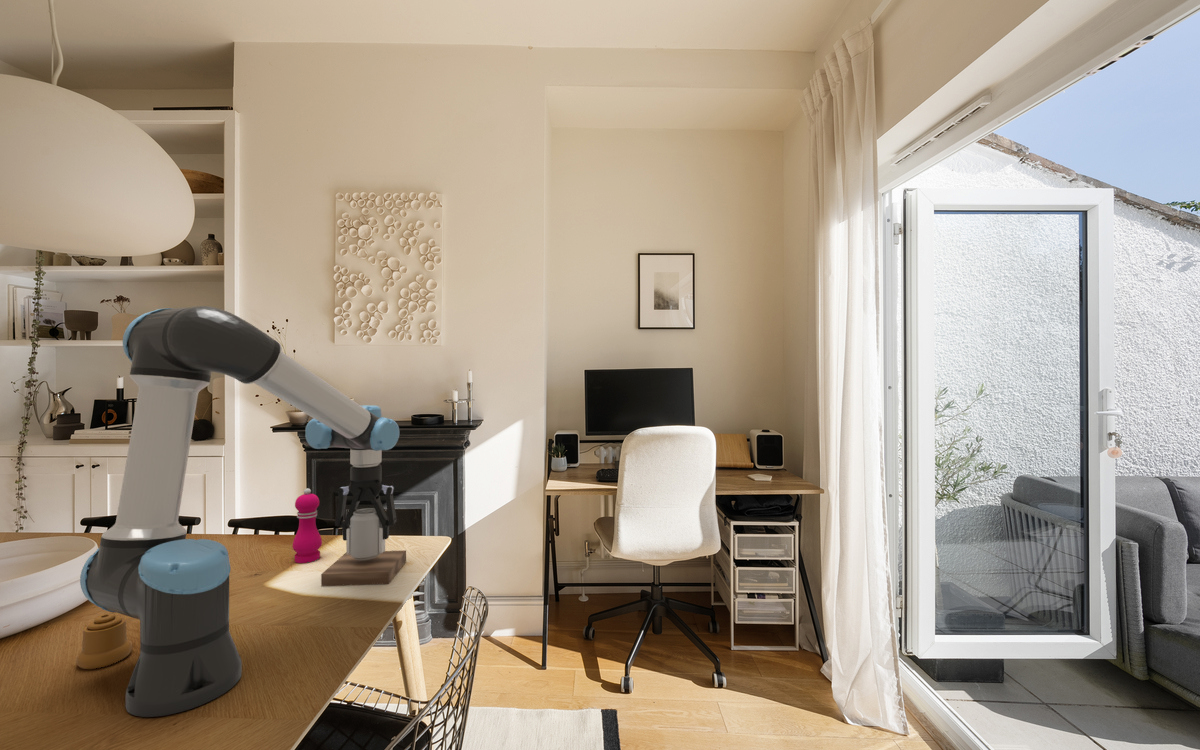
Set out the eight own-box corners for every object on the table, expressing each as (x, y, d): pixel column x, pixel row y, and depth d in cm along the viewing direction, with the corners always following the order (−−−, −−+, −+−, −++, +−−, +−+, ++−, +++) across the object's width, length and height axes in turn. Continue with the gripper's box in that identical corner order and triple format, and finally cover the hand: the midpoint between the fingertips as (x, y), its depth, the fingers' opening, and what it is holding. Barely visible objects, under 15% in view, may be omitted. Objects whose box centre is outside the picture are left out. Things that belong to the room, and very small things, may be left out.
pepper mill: (325, 559, 149) (325, 488, 149) (297, 566, 144) (297, 492, 144) (316, 553, 154) (316, 484, 154) (288, 559, 149) (288, 488, 149)
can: (369, 562, 134) (369, 514, 134) (343, 560, 136) (343, 513, 136) (387, 552, 142) (387, 507, 142) (362, 550, 143) (362, 506, 143)
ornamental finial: (142, 648, 101) (110, 670, 93) (100, 650, 100) (63, 672, 93) (142, 606, 101) (109, 624, 93) (100, 608, 100) (63, 626, 93)
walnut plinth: (388, 583, 131) (388, 571, 131) (321, 586, 130) (321, 574, 130) (406, 561, 147) (406, 550, 147) (346, 563, 146) (346, 552, 146)
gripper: (409, 461, 143) (409, 546, 143) (331, 462, 141) (331, 548, 141) (402, 466, 136) (402, 555, 136) (319, 467, 134) (319, 558, 134)
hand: (366, 551), depth 139 cm, fingers closed on can, 7 cm apart
